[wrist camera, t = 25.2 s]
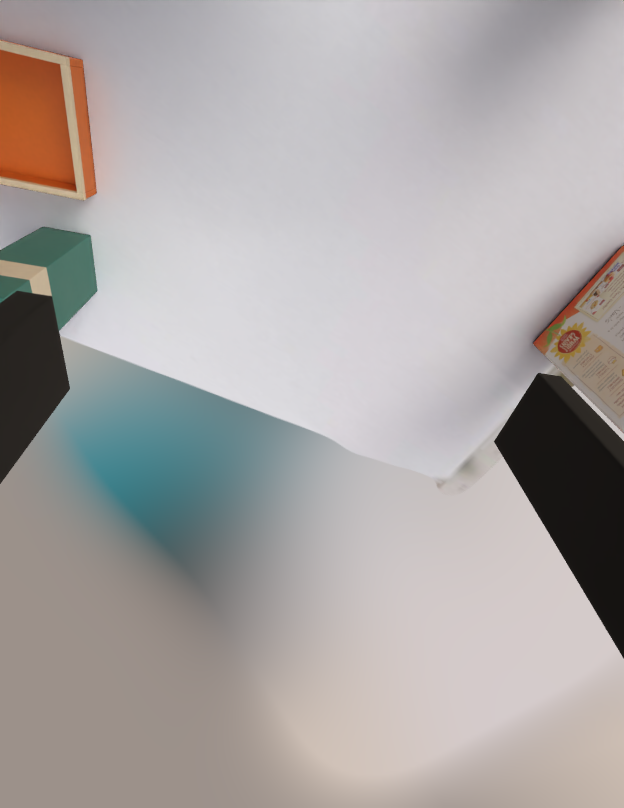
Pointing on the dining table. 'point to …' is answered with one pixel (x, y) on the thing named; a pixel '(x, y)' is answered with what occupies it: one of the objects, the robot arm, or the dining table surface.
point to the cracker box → (593, 340)
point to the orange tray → (44, 123)
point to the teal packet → (50, 269)
